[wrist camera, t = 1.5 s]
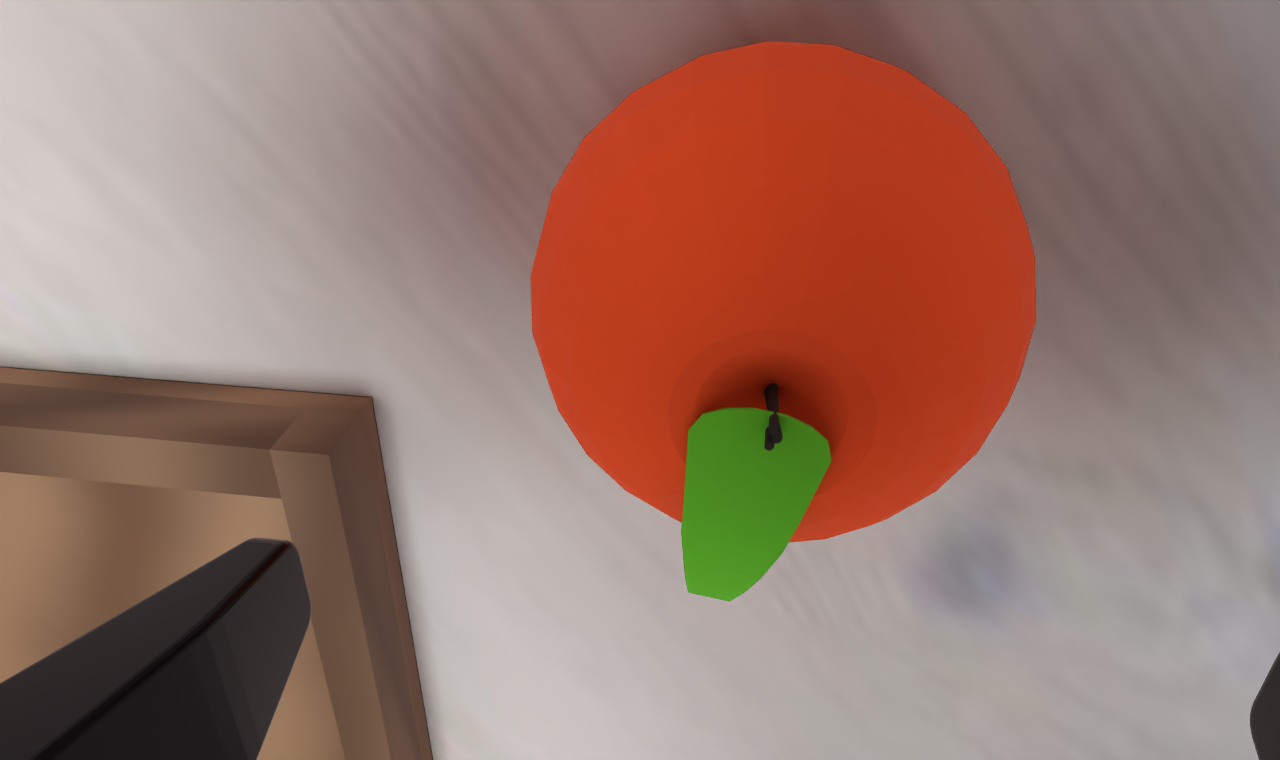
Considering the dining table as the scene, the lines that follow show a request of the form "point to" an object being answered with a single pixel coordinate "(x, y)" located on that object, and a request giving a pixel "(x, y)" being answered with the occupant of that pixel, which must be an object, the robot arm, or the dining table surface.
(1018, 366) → the clementine
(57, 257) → the dining table surface
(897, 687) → the dining table surface
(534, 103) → the dining table surface
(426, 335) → the dining table surface
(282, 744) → the walnut dish
